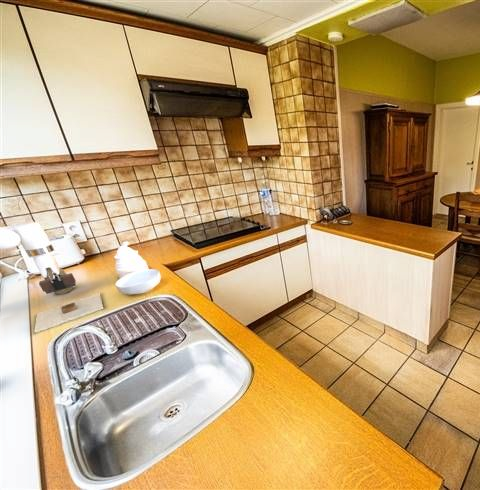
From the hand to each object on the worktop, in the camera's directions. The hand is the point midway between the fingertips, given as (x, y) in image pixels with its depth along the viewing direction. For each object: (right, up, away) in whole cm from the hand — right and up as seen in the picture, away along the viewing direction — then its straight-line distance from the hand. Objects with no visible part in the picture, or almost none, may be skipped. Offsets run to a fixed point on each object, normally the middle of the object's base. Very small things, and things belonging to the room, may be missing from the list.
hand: (60, 287), depth 121 cm
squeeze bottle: (-11, -4, +11) cm, 16 cm away
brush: (0, -1, 0) cm, 1 cm away
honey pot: (+11, +3, +26) cm, 28 cm away
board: (+11, -10, -5) cm, 15 cm away
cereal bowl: (+30, -3, +9) cm, 32 cm away
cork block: (+11, -9, -5) cm, 15 cm away
